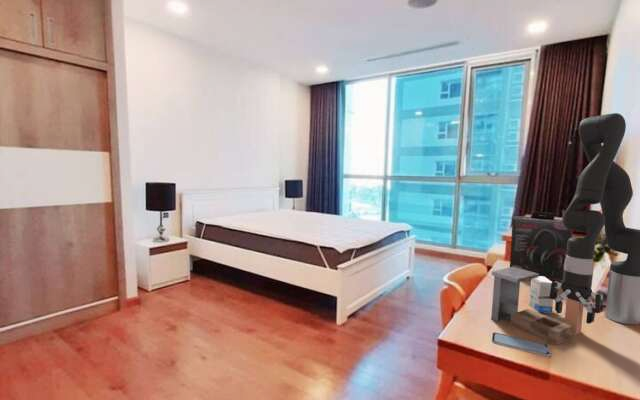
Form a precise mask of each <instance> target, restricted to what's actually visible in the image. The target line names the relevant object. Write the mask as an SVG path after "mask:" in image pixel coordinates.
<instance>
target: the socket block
mask: <svg viewBox="0 0 640 400" xmlns="http://www.w3.org/2000/svg"><path fill="white" fill-rule="evenodd" d="M509 322H510V323H509V326H510V327H512V328H514V329H516V330H519V331H522V332H523V333H526V334H529V335H531V336H533V337H535V338H538V339H539V340H540V339H541V340H542V341H545V342H547V343H549V344H552V345H555V346H557V345H559V344H561V343H562V342H563V343H564V342H566V341H567V340H569V339H571V338H573V334H572V330H573V325H570V324H568V323H565V322H564V321H562V320H558V319H556V318H553V317H551V316H548V315H545V314H543V313H541V312H538V311H535V310H531V309H528V308H526V309H522V310H520V311H518V312H517V313H514V314H511V317H510V321H509Z"/></svg>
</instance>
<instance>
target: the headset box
mask: <svg viewBox="0 0 640 400" xmlns="http://www.w3.org/2000/svg"><path fill="white" fill-rule="evenodd" d="M573 231H574V230H571V229H567V228H566V227H565V226H564V224H563V221H562V219H559V218H557V219H556V218H555V216H554V213H553V212H544V211H532V213H531V215H530V216H521V215H515V216H513V218H512V222H511V237H510V238H511V239H510V240H511V241H510V242H511V243H510V254H509V255H510V257H509V268H510V267H516V268H520V269H523V270H527V271H531V272H534V273H538V274H539V276H543V277H546V278H547V279H548V280H550V281H551V282H554V281H558V282H559V283H563V273H564V262H565V258H566V252H567V242H568V239H570V238H573Z"/></svg>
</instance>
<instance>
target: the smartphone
mask: <svg viewBox="0 0 640 400" xmlns="http://www.w3.org/2000/svg"><path fill="white" fill-rule="evenodd" d="M491 343H493V344H494V345H495V344H496V345H499V344H500V345H499V346H503V345H504V347H507V346H509V347H508V348H511V347H512V348H511V349H515V348H517V349H516V350H519V349H520V351H523V352H528V353H532V354H536V355H540V356H544V357H550V356H551V352H550V347H549V345H548V344H547V343H544V342H540V341H537V340H531V339H527V338H523V337H522V338H521V337H517V336H512V335H509V334H504V333H499V332H492V334H491Z"/></svg>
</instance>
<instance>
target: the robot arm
mask: <svg viewBox="0 0 640 400" xmlns="http://www.w3.org/2000/svg"><path fill="white" fill-rule="evenodd" d="M626 127H627V123H626V119H625V118H624V116H623V115H622V114H621V113H617V112H612V113H608V114H602V115H597V116H596V115H595V116H590V117H586V118H584V119H582V120H581V121H580V123H579V125H578V134H579V135H578V136H579V139H580V141H581V145H582V146H583V148H582V149H583V150H584V152H585V156H586V158H587V160H588V164H587V166H585V168H584V169H583V170H582V172H581V173H580V175H579V177H578V180H577V185H576V189H575V194H574V195H573V198H572V200H571V202H570V203H569V204H568V207H567V208H566V210H565V212H564V213H563V216H562V219H561V220H562V221H563V224H564V226H565V227H566V228H567V229H571V230H573V231H577V232H584V233H585V232H586V235H585V236H583V237H579V236H577V237H576V236H575V237H572V238H570V239H568V242H567V252H566V258H565V262H564V273H563V283H559V282H558V281H554V282H552V283H551V289H550V295H549V297H550V298H551V299H553V301H555V304H554V306H555V307H554V310H555V312H556V314H562V312H563V305H564V302H563V300H565V299H567V298H569V299H573V300H576V301H579V302H581V303H582V304H583V306H584V307H585V309H586V310H587V312H586V321H585V323H586V324H588V325H590V324H592V323H594V322H595V317H596V316H595V315H596V314H600V313H602V312H604V316H605V317H606V318H608V319H609V320H612V321H615V322H618V323H621V324H625V325H632V326H633V325H639V324H640V229H637V228H631V227H626V225H625V223H624V217H623V215H624V213H625V210H626V209H627V207H628V205H629V204H630V202H631V200H632V199H633V196H634V191H633V187H632V186H633V185H632V182H631V177H630V175H629V174H628V172H627V171H626V170H625V169H624V168H623V167H622V166H620V165H619V164H618V163H617V162H616V161H615V159H616V156H617V154H618V151H619V149H620V146H621V144H622V141H623V139H624V137H625V134H626V133H625V132H626V130H627V129H626ZM597 204H600V208H601V211H600V210H593V209H584V207H586V206H589V205H597ZM603 228H604V233H605V234H604V235H605V239H606V243H607V246H608V248H610V249H611V250H612V251H613V252H617V253H622V254H626V255H627V256H626V259H625V260H623V261H622V260H621V261H612V262H611V263H610V265H609V275H608V282H607V284H608V285H607V292H606V301H605V302H606V304H605V309H604V296H605V295H604V293H603V292H599V293H598V292H594V291H592V287H593V277H594V267H595V265H594V263H595V262H594V257H595V256H594V255H595V247H596V244H597V240H598V239H599V235H600V234H601V232H602V230H603ZM560 288H561V290H562V292H563V293H561V294H559V296H558V290H559V289H560ZM590 297H592V299H593V300H595V301H594V303H595V304H594V303H593V302H592V299H591V298H590ZM593 304H594V305H593ZM604 310H605V311H604Z"/></svg>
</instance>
